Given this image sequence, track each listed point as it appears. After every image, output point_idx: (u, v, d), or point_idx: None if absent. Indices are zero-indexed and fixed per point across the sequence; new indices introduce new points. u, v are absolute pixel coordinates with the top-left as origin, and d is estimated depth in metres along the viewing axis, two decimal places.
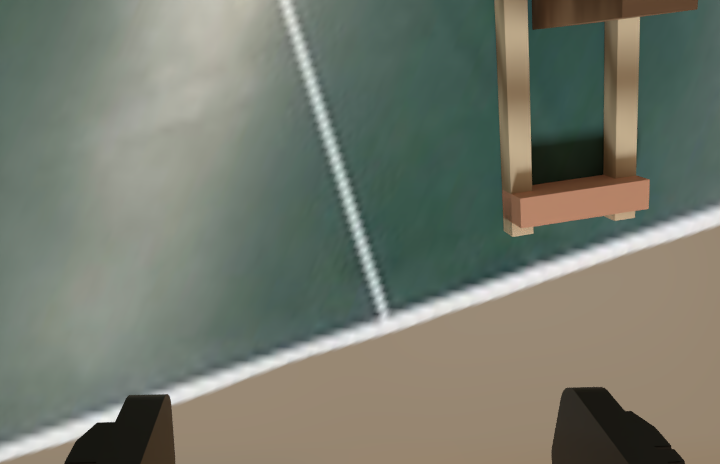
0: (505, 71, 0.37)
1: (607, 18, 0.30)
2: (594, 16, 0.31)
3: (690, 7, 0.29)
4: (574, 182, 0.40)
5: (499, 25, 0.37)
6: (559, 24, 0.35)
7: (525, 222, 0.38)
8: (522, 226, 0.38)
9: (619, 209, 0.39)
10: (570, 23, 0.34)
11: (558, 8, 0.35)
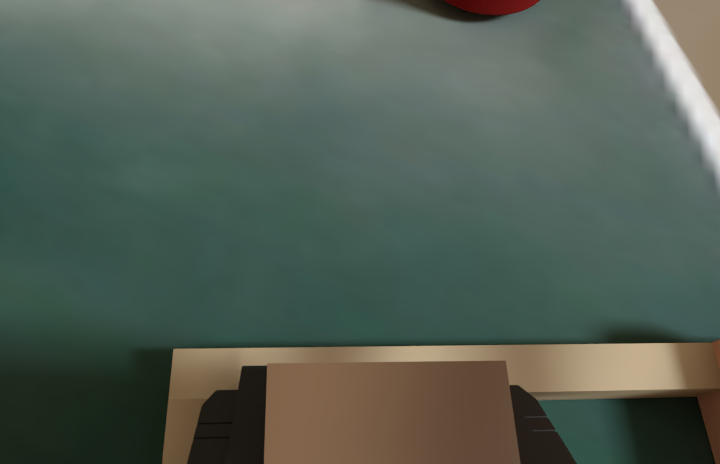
0: None
1: None
2: None
3: (502, 382, 0.10)
4: None
5: None
6: None
7: None
8: None
9: None
10: None
11: None
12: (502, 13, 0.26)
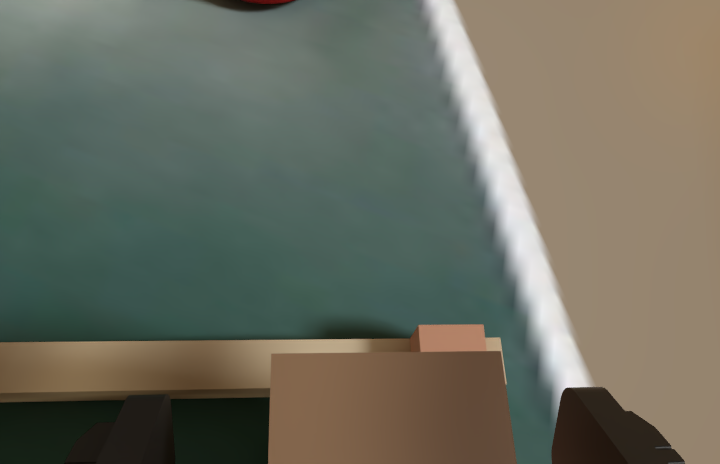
0: None
1: None
2: None
3: (497, 372, 0.10)
4: None
5: None
6: None
7: None
8: None
9: None
10: None
11: None
12: (274, 2, 0.26)
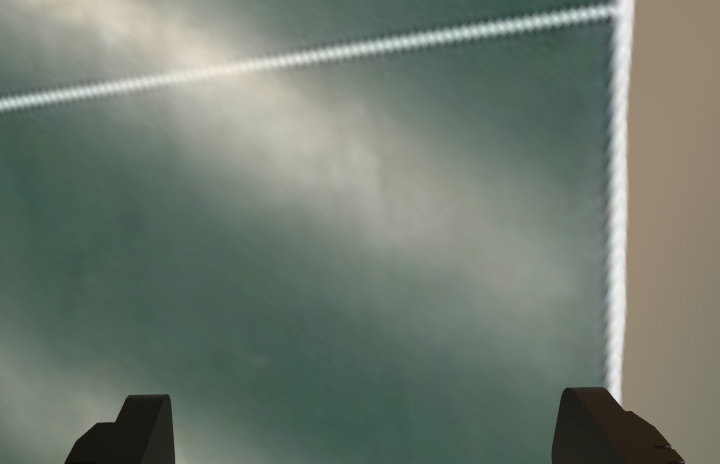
0: None
1: None
2: None
3: None
4: None
5: None
6: None
7: None
8: None
9: None
10: None
11: None
12: None
